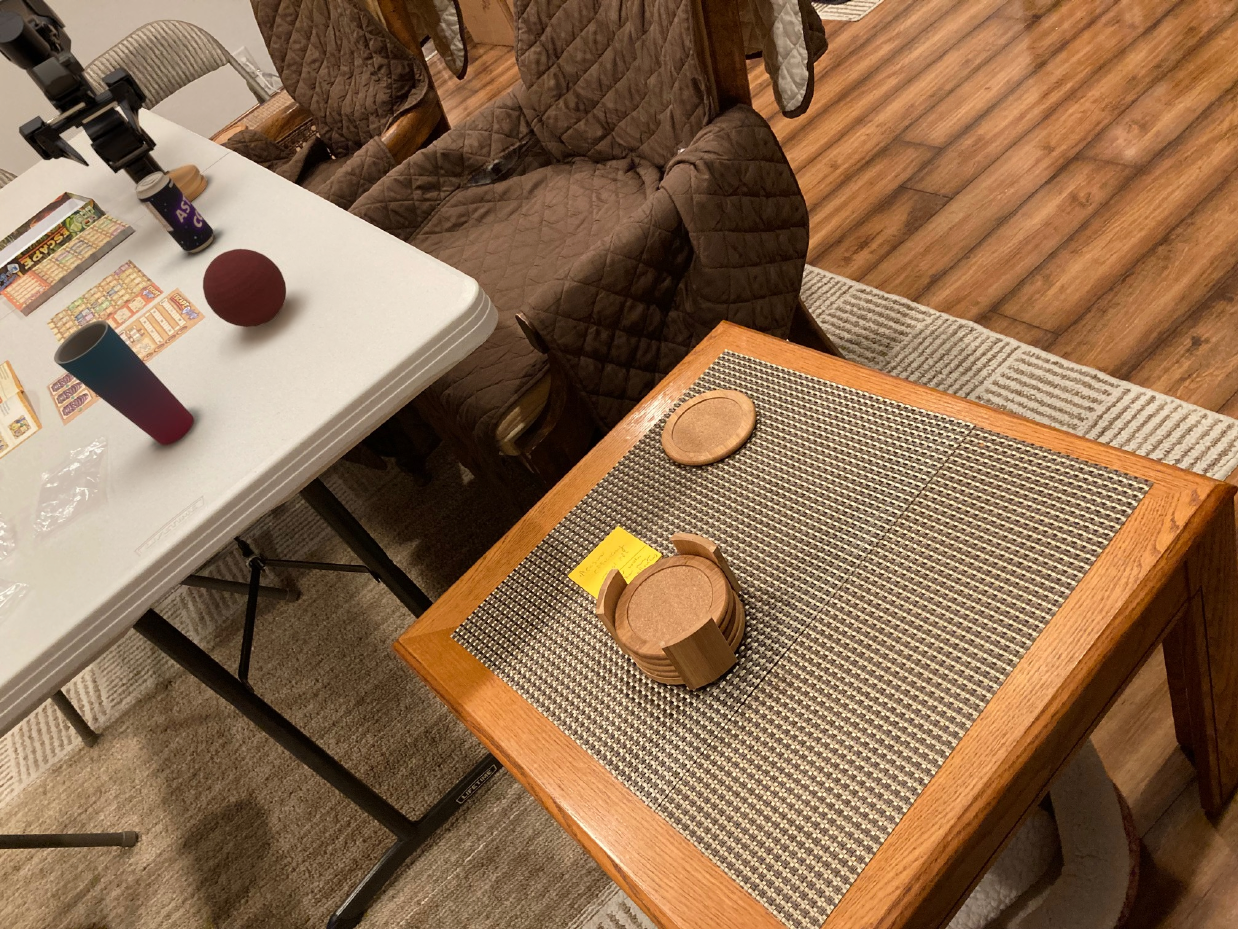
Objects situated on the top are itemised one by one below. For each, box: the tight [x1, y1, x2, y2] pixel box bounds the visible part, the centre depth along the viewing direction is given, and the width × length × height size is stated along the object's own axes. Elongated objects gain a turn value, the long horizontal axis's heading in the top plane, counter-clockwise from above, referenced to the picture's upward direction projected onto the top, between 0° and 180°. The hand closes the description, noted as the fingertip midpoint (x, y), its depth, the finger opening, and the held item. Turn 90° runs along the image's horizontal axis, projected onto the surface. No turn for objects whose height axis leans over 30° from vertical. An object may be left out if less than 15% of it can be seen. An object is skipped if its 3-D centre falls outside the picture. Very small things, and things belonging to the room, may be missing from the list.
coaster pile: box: [166, 164, 208, 203], centre depth 157 cm, size 10×10×3 cm
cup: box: [53, 319, 195, 446], centre depth 101 cm, size 7×7×15 cm
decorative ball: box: [202, 248, 287, 328], centre depth 113 cm, size 10×10×10 cm
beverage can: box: [134, 172, 214, 253], centre depth 136 cm, size 6×6×12 cm
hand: (113, 148), depth 135 cm, fingers open, 9 cm apart
